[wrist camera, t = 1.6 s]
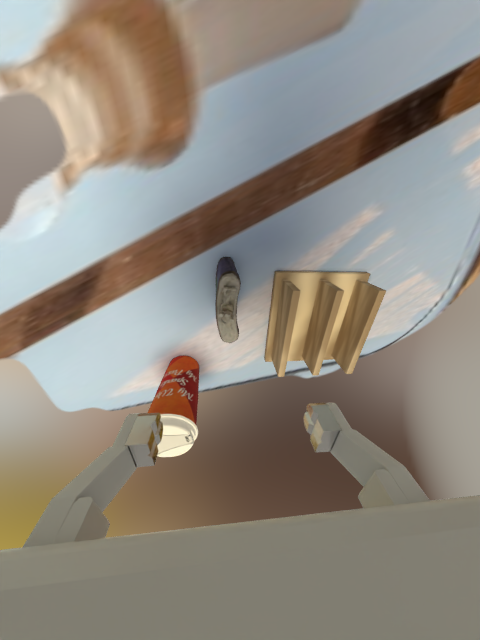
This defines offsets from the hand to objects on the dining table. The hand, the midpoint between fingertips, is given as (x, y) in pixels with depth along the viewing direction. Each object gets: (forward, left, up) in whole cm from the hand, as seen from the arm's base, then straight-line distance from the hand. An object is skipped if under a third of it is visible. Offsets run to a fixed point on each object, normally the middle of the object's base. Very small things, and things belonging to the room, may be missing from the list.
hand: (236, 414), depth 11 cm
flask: (0, 0, -22) cm, 22 cm away
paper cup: (+16, -8, -22) cm, 28 cm away
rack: (+6, +15, -22) cm, 27 cm away
